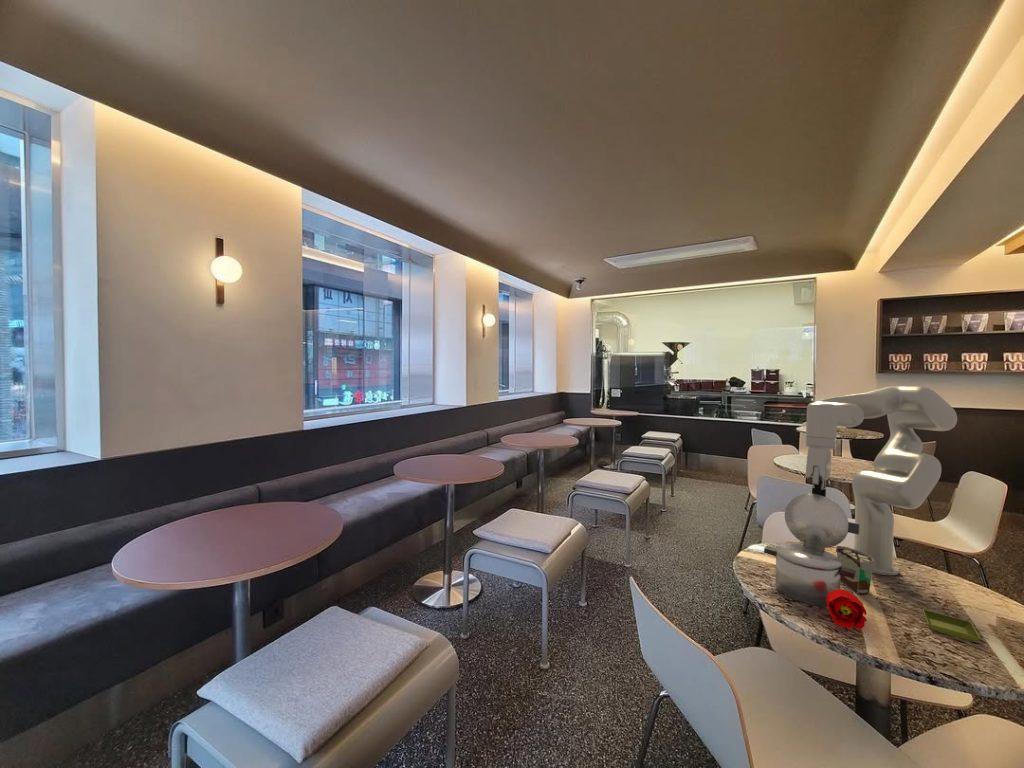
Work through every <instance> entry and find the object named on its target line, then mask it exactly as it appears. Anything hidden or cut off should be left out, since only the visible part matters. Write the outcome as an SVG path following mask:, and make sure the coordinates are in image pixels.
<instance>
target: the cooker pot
mask: <svg viewBox="0 0 1024 768" xmlns="http://www.w3.org/2000/svg"><path fill="white" fill-rule="evenodd" d="M763 553H764V554H767V555H770V556H772V557H773V556H774V557H775V576H774V578H775V580H774V585H775V588H776V587H777V588H776V589H777V590H778V591H779V592H780V593H782V594H783V595H785V596H786V597H789V598H791V599H793V600H796V601H797V602H800V603H805V604H806V605H812V606H817V607H826V608H827V602H826V595H827V594H828V593H829V592H831V591H833V590H838V589H841V582H840V578H841V575H842V576H846V577H849V578H852V579H854V577H855V574H856V570H853V569H849V568H846V567H842V561H841V560H840V559H839V558H838V557H837V555H835V554H833V553H831V552H829V551H827V550H825V551H824V550H821V549H818V548H814V547H810V546H806V545H803V544H798V543H780V544H777V545H775V547H773V546H771V545H770V546H769V545H766V546H765V547H764V548H763Z"/></svg>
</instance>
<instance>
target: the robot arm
mask: <svg viewBox="0 0 1024 768" xmlns="http://www.w3.org/2000/svg"><path fill="white" fill-rule="evenodd" d="M886 415H887V423H888V427H889V432H890V434H889V435H890V436H889V438H888V440H887V442H886V443H885V445H884V446H883V447H882V448H881V450H880V451H879V452H878V454H877V455H876V456H875V458H874V461H873V468H874V470H861V471H859V472H857V473H855V474H854V475H853V477H852V479H851V480H852V481H851V485H852V491H853V496H854V505H855V509H854V511H855V512H854V523H856V524H860V529H859V535H858V534H854V542H853V543H854V547H853V549H855V550H858V551H861V552H864V553H866V554H868V555H870V556H871V557H872V558H873V560H874V561H875V565H876V568H875V569H873V570H872V574H876V575H883V576H897V575H899V574H900V569H899V568H898V567H897V566H896V565H894V563H893V559H894V558H893V557H894V554H893V553H894V530H895V529H894V528H895V527H894V526H895V516H894V514H893V511H892V510H891V507H890V506H893V507H897V508H901V509H905V510H915V509H918V508H919V507H920V506H921V505H923V503H924V502H925V501H926V499H927V498H928V497H929V495H930V494H931V492H932V491H933V489H934V488H935V487H936V485H937V484H938V482H939V481H940V478H941V476H942V475H941V474H942V464H941V462H940V460H939V459H938V458H937V457H935V456H934V455H932V454H928V453H923V452H922V451H923V449H924V445H923V442H922V440H921V438H920V437H919V436H918V434H916V432H915V431H914V429H916V430H925V431H926V430H927V431H934V432H935V431H936V432H946V431H951V430H952V429H954V428H955V426H956V425H957V423H958V416H957V412H956V410H955V409H954V407H953V406H952V405H951V404H950V403H948V402H947V401H946V400H945V398H943V396H941V395H940V394H939V393H937V392H936V391H935V390H933V389H931V388H928V387H927V386H920V385H919V386H918V385H917V386H913V385H912V386H910V385H905V386H904V385H891V386H885V387H883V388H878V389H874V390H871V391H867V392H863V393H855V394H854V393H853V394H848V395H841V396H834V397H828V398H824V399H819V400H816V401H815V402H810V403H809V404H808V405H807V406H806V424H805V425H806V428H805V447H808V450H807V456H806V466H805V477H806V478H805V479H810V478H812V481H811V482H812V487H811V494H817V495H822V496H824V497H827V495H826V494H827V489H826V486H827V480H828V479H829V478H830V477H831V472H832V450H836V449H837V427H841V428H842V427H843V428H853V427H854V428H855V427H857V426H859V425H861V424H862V423H863V421H864V419H865V420H866V419H877V418H880V417H882V416H883V417H884V416H886ZM889 505H890V506H889Z"/></svg>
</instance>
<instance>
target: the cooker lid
mask: <svg viewBox="0 0 1024 768" xmlns="http://www.w3.org/2000/svg"><path fill="white" fill-rule="evenodd" d="M784 520H785V524H786V526H787V529H788V530H789V532H790V533H791V534H792V535H793V536H794V537H795V538H796V539H797V540H798V541H800V542H802V543H803V544H802V545H806V546H810V547H814V548H818V549H821V550H824V551H826V549H829V548H833V547H835V546H836V547H837V546H839V544H841V543H842V542H843V541H844V540H845V539H846V537H847V536H848V534H849V533H850V534H853V535H855V534H858V535H859V529H860V524H856V523H855V522H850V521H849V520H848V516H847V515H846V512H845V511H844V510H843V508H842V507H841V506H840V505H839V504H838V503H837V502H836V501H834V500H833V499H831V498H829V497H827V496H826V497H824V496H822V495H817V494H812V493H805V494H801V495H798V496H795V497H794V498H793V499H791V500H790V501H789V502H788V503H787V505H786V508H785V509H784Z"/></svg>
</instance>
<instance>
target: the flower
mask: <svg viewBox="0 0 1024 768" xmlns="http://www.w3.org/2000/svg"><path fill="white" fill-rule="evenodd" d="M826 602H827V607H826V609H827V611H828V613H829V616H830V617H832V621H833V623H834V624H835V625H837V626H838V627H841V628H843V627H844V628H846V629H848V630H852V629H853V628H855V629H856V630H863V629H864V628H865V626H866V622H867V618H866V616H867V614H868V613H867V610H866V608H865V607H864V604H863V602H862V601H861V599H859V598H858V597H857V596H856V594H853V593H852V591H851V592H850V591H848V590H846V589H844V588H840V589H838V590H833V591H831V592H829V593H828V594H827V595H826Z"/></svg>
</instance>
